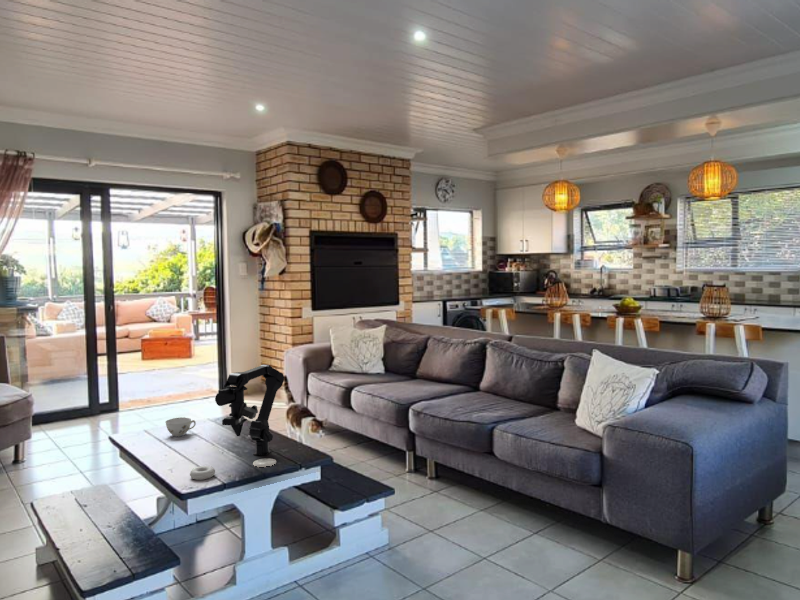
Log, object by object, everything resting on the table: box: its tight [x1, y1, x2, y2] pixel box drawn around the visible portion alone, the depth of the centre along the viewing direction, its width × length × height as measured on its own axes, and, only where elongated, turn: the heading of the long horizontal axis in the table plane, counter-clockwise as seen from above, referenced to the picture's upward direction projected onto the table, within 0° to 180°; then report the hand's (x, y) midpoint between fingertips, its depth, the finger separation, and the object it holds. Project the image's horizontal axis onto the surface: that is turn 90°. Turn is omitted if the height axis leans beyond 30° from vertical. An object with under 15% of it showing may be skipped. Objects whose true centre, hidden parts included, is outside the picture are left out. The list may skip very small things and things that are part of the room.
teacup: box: [165, 416, 197, 437], centre depth 306 cm, size 15×12×8 cm
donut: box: [189, 465, 216, 481], centre depth 241 cm, size 10×4×10 cm
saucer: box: [252, 457, 277, 468], centre depth 257 cm, size 10×10×1 cm
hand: (238, 436), depth 258 cm, fingers closed
